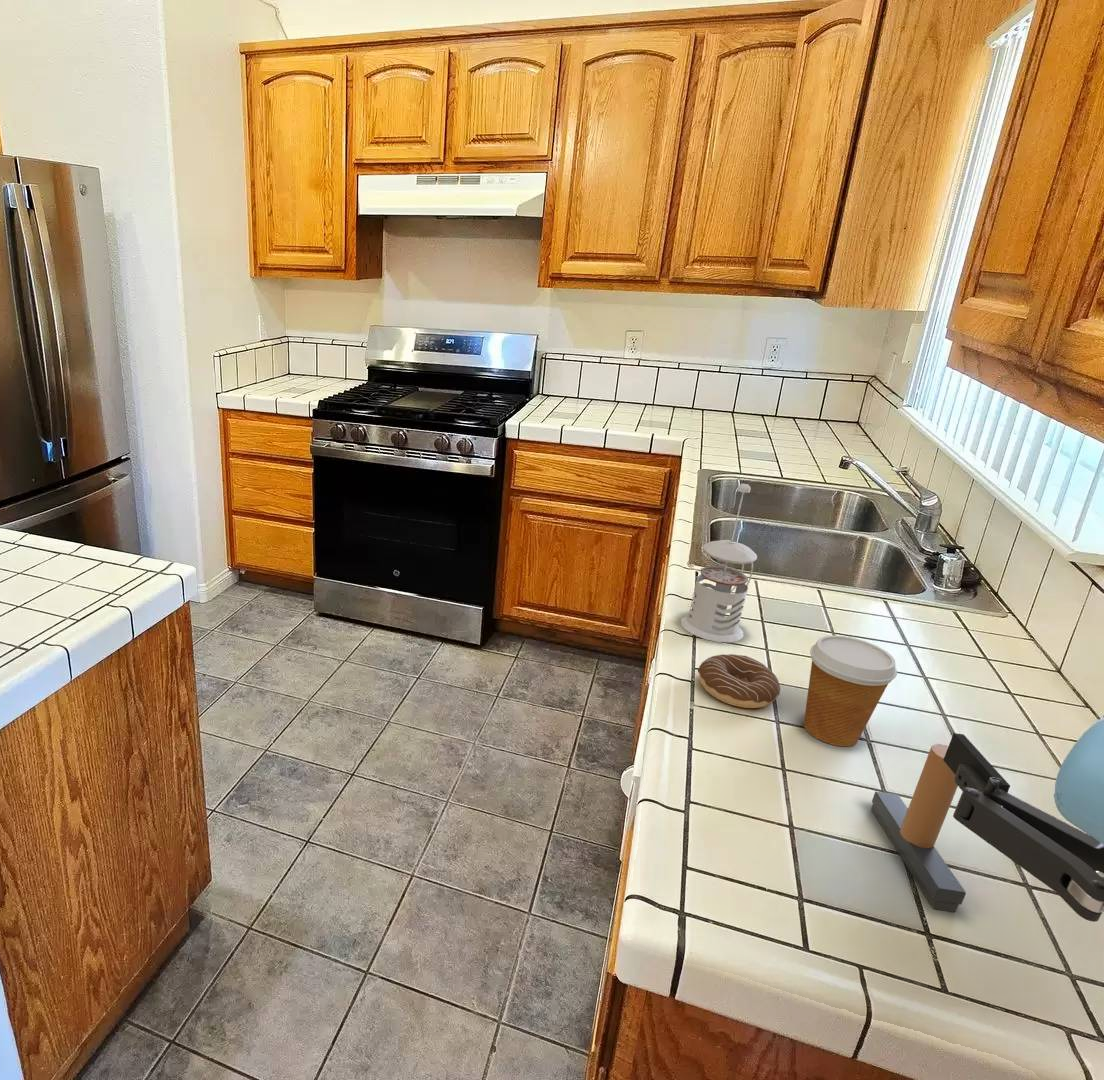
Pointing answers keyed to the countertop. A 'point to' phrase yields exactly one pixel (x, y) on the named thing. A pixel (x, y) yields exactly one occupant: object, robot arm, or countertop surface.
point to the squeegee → (924, 829)
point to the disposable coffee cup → (845, 687)
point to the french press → (721, 590)
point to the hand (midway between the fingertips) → (1044, 759)
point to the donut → (739, 680)
